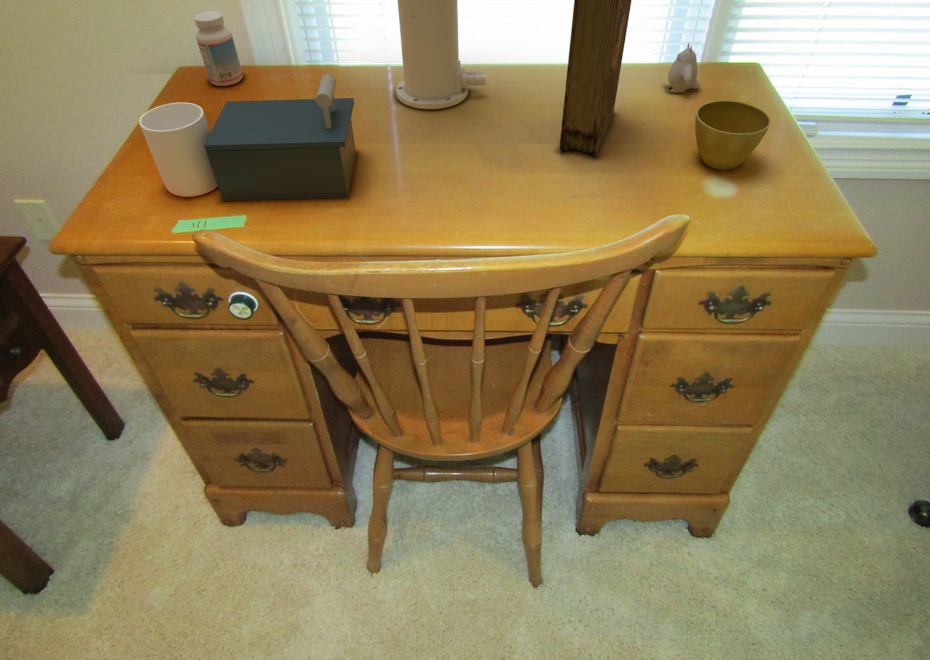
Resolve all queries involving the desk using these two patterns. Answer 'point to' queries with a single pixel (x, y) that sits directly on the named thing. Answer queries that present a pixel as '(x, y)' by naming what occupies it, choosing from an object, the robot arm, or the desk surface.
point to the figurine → (684, 72)
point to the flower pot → (729, 132)
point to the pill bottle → (217, 49)
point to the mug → (179, 147)
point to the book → (593, 72)
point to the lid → (284, 122)
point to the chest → (284, 172)
